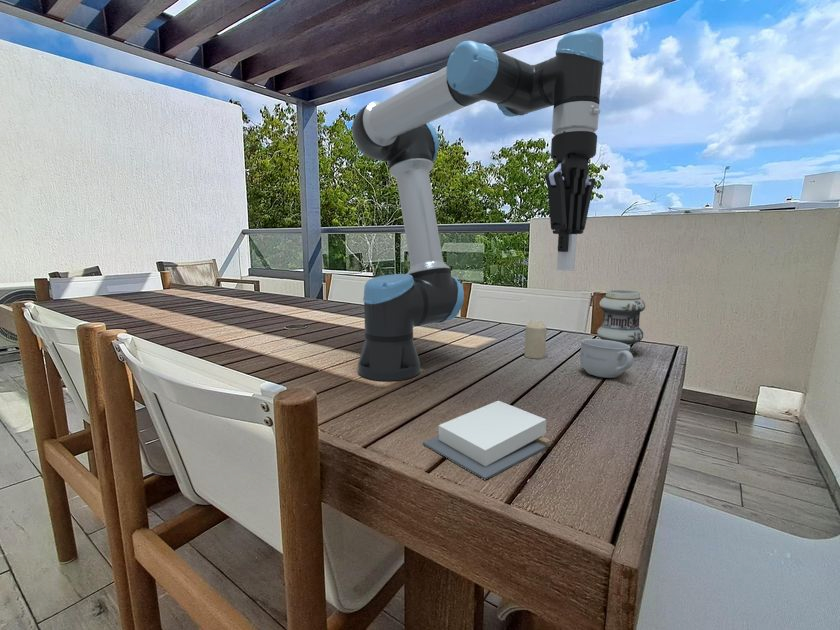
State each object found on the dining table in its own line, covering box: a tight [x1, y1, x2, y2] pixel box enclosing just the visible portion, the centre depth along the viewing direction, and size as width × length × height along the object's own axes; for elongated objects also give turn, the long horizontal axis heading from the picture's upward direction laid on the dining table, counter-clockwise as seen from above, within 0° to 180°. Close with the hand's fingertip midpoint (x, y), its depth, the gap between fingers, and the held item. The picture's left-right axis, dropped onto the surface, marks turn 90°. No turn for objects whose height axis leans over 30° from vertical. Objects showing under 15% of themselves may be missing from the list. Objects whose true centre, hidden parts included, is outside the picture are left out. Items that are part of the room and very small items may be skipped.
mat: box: [422, 435, 548, 481], centre depth 65 cm, size 15×13×1 cm
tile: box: [437, 400, 547, 466], centre depth 66 cm, size 3×10×14 cm
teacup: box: [579, 338, 634, 379], centre depth 99 cm, size 14×11×8 cm
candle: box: [523, 320, 548, 360], centre depth 116 cm, size 6×6×10 cm
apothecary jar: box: [596, 289, 646, 357], centre depth 120 cm, size 12×12×18 cm
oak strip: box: [534, 436, 552, 449], centre depth 70 cm, size 1×13×1 cm, turn 40°
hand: (565, 270), depth 77 cm, fingers closed
